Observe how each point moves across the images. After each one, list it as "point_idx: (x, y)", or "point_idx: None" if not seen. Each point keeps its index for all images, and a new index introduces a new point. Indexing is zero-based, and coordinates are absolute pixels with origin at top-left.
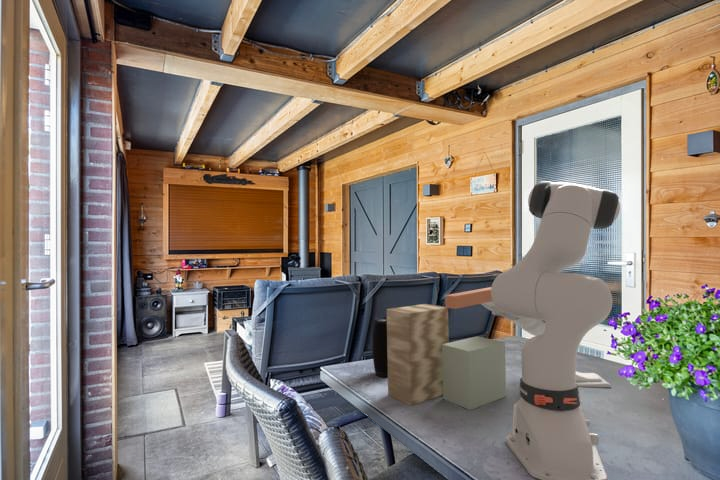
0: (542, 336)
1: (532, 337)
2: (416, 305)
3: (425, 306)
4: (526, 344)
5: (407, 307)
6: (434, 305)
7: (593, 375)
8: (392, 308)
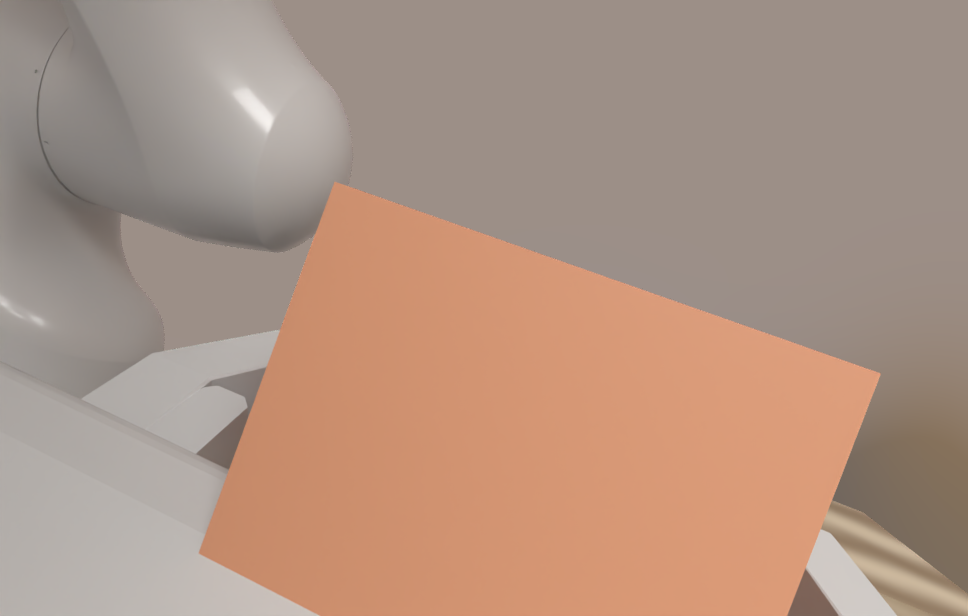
0: (122, 248)
1: (130, 294)
2: (962, 597)
3: (881, 568)
4: (157, 310)
5: (881, 542)
6: (910, 604)
7: None
8: (874, 523)
